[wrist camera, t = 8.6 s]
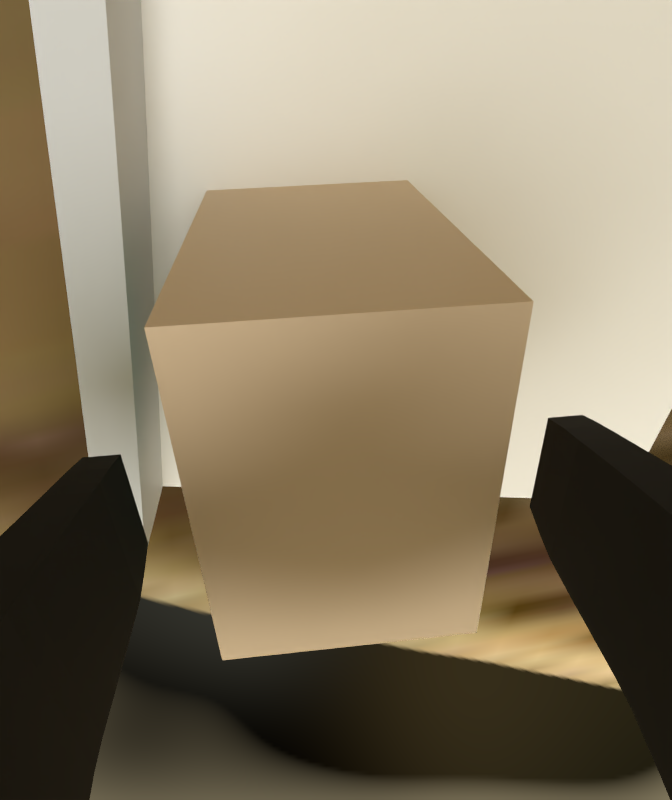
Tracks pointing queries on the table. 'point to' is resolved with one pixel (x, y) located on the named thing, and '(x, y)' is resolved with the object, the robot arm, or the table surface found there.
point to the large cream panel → (372, 175)
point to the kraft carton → (337, 412)
